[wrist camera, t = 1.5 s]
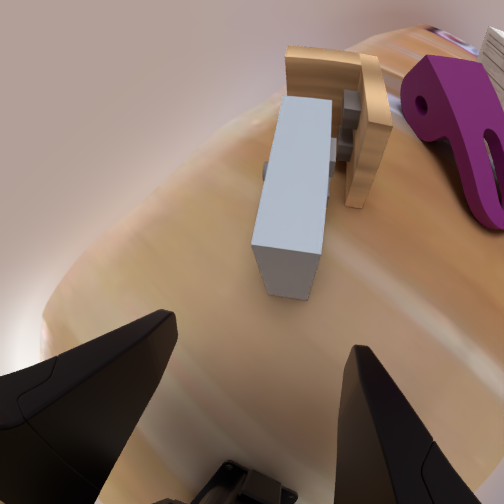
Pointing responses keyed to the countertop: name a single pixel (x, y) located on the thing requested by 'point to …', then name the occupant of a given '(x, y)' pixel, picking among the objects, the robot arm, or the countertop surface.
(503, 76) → the supplement box
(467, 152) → the mounting bracket
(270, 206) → the pale grey oblong block
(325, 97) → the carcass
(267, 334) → the countertop surface
